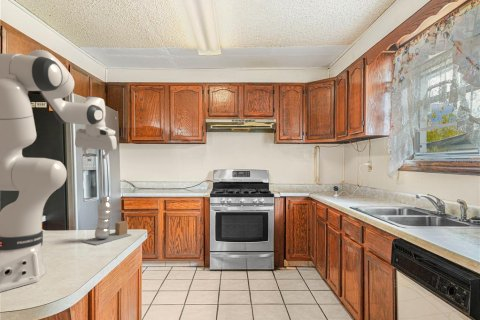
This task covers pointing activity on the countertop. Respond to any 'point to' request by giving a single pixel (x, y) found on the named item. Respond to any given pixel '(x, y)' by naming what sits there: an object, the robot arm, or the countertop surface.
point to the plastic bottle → (103, 219)
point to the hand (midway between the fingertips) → (95, 157)
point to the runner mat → (119, 233)
